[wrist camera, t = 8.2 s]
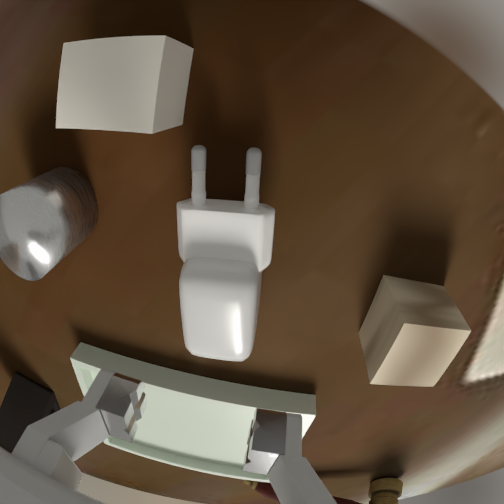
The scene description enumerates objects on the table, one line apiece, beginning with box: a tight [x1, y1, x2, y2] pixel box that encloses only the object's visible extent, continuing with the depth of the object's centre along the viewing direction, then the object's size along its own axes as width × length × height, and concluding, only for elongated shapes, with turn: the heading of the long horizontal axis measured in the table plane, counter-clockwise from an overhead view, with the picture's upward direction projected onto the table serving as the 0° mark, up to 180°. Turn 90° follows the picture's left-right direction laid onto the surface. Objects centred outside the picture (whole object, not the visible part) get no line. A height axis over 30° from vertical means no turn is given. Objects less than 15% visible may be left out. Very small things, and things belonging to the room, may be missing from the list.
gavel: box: [244, 478, 403, 504], centre depth 29 cm, size 21×5×10 cm, turn 80°
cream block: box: [56, 35, 194, 134], centre depth 12 cm, size 5×4×4 cm
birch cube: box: [359, 275, 471, 386], centre depth 17 cm, size 4×4×4 cm
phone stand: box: [0, 372, 60, 454], centre depth 25 cm, size 9×6×12 cm, turn 165°
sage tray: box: [70, 342, 316, 483], centre depth 26 cm, size 20×16×2 cm
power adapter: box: [177, 145, 275, 361], centre depth 15 cm, size 10×4×5 cm, turn 177°
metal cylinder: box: [0, 167, 98, 280], centre depth 15 cm, size 5×5×5 cm
